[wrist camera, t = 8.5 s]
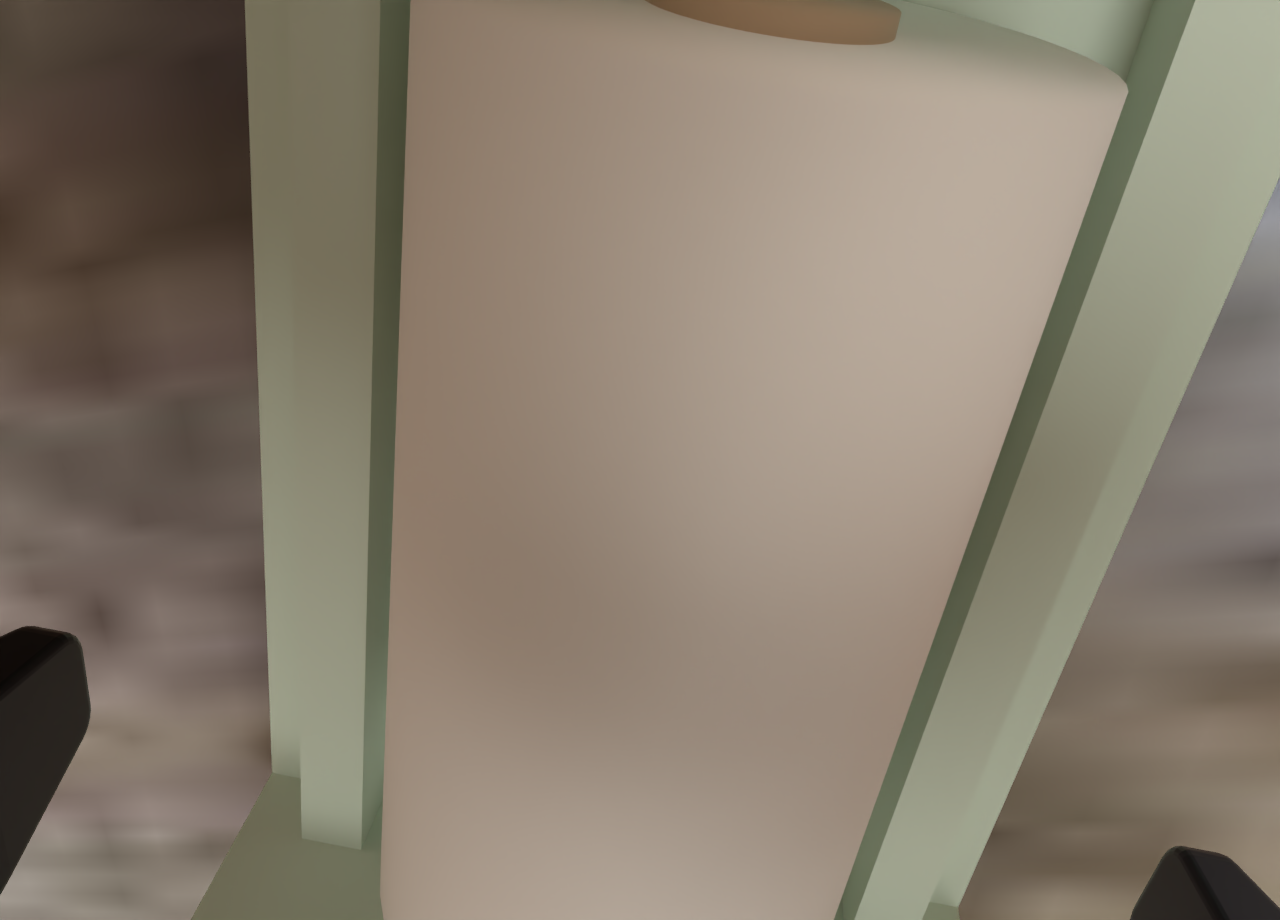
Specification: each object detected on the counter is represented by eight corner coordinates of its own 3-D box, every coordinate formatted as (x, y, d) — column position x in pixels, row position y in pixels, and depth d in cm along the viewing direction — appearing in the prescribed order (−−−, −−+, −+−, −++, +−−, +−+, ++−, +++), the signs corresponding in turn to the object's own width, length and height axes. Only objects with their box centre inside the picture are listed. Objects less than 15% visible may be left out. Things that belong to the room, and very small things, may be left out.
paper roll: (821, 765, 18) (823, 1152, 12) (453, 688, 18) (304, 1036, 13) (1059, 4, 12) (1247, 134, 7) (512, -91, 12) (285, -34, 7)
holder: (932, 904, 20) (980, 1271, 15) (295, 779, 21) (129, 1095, 16) (1468, -370, 11) (2096, -556, 6) (267, -558, 11) (-187, -895, 6)
